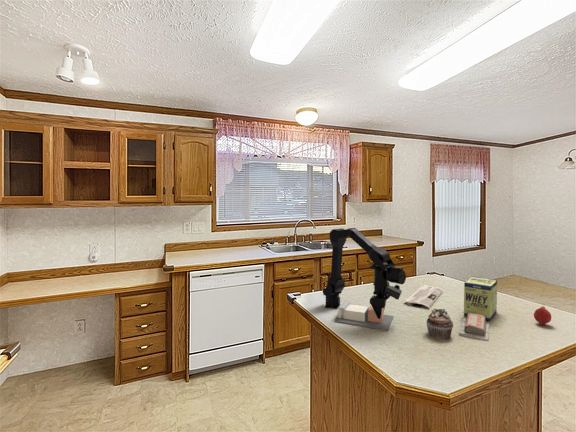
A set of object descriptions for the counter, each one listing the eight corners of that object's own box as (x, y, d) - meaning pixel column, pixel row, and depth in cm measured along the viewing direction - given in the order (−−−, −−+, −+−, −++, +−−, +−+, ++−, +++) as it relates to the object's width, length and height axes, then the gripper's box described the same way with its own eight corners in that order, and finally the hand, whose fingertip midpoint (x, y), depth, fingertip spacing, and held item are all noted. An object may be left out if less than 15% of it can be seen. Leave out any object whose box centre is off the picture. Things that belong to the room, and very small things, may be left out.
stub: (367, 320, 139) (367, 309, 139) (370, 316, 144) (370, 306, 144) (381, 323, 137) (382, 311, 136) (383, 318, 141) (383, 307, 141)
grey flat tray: (334, 321, 140) (334, 309, 140) (344, 310, 155) (344, 298, 154) (388, 330, 130) (388, 317, 130) (393, 317, 145) (393, 305, 144)
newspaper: (429, 310, 154) (429, 303, 154) (402, 305, 161) (402, 298, 161) (443, 292, 182) (443, 286, 182) (420, 288, 189) (420, 283, 189)
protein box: (463, 316, 145) (463, 282, 144) (472, 307, 156) (472, 276, 155) (490, 322, 138) (490, 286, 137) (497, 312, 149) (497, 279, 148)
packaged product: (462, 310, 140) (489, 314, 134) (462, 321, 140) (489, 326, 135) (458, 324, 125) (488, 330, 119) (458, 336, 125) (488, 342, 120)
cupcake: (422, 330, 131) (422, 306, 130) (446, 329, 130) (446, 306, 130) (432, 340, 121) (432, 314, 120) (457, 340, 121) (458, 314, 120)
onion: (546, 328, 130) (547, 309, 129) (530, 323, 135) (531, 305, 134) (553, 325, 133) (554, 307, 132) (537, 321, 138) (538, 303, 137)
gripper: (397, 287, 126) (397, 325, 127) (402, 276, 143) (402, 310, 144) (369, 284, 131) (369, 321, 132) (377, 274, 148) (377, 307, 149)
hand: (380, 314), depth 139 cm, fingers open, 9 cm apart
